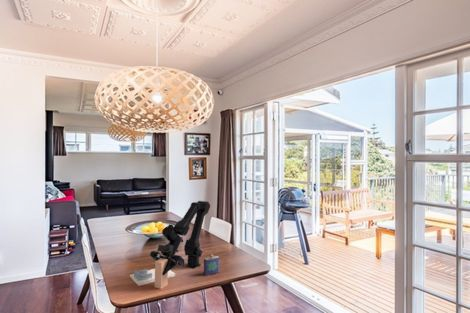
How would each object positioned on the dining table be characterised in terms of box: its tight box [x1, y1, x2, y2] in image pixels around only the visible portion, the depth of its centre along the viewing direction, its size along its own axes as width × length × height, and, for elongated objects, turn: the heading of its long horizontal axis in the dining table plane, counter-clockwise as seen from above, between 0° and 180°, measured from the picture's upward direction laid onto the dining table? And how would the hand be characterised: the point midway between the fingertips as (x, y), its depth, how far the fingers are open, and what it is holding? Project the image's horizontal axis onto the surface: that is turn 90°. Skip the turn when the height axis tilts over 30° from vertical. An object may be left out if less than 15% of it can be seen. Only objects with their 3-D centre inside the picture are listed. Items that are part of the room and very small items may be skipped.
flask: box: [203, 254, 220, 277], centre depth 162 cm, size 9×3×11 cm, turn 122°
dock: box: [129, 268, 176, 286], centre depth 158 cm, size 20×13×4 cm, turn 128°
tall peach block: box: [154, 258, 169, 290], centre depth 147 cm, size 5×4×13 cm
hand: (159, 274), depth 145 cm, fingers closed on tall peach block, 4 cm apart
